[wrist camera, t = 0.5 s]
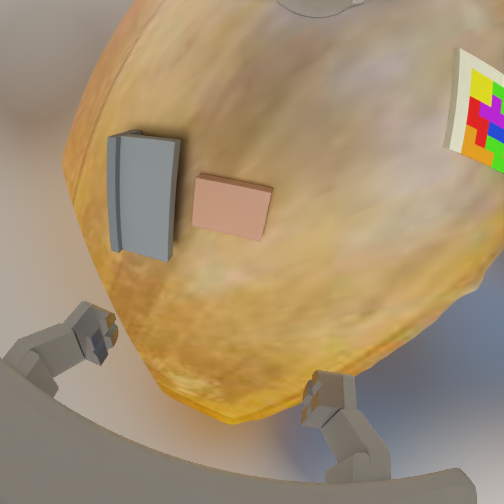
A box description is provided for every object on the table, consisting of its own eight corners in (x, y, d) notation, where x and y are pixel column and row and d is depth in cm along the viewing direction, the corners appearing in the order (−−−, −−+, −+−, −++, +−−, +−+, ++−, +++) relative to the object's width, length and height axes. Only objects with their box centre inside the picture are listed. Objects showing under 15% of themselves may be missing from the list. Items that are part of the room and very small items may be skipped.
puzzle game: (452, 50, 29) (432, 188, 45) (459, 48, 26) (438, 193, 42) (540, 108, 26) (517, 219, 42) (548, 109, 23) (524, 224, 39)
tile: (201, 173, 52) (195, 177, 49) (273, 187, 51) (271, 193, 48) (197, 218, 57) (191, 225, 54) (263, 233, 56) (260, 241, 53)
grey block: (133, 129, 48) (107, 136, 40) (191, 136, 47) (171, 143, 40) (131, 231, 61) (111, 250, 53) (181, 244, 60) (164, 266, 52)
